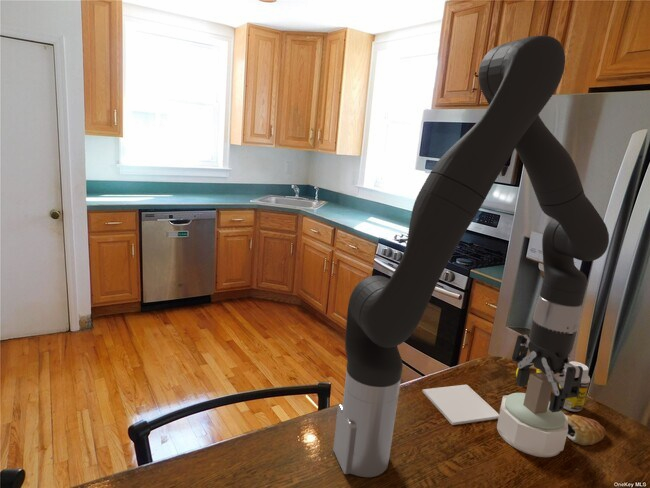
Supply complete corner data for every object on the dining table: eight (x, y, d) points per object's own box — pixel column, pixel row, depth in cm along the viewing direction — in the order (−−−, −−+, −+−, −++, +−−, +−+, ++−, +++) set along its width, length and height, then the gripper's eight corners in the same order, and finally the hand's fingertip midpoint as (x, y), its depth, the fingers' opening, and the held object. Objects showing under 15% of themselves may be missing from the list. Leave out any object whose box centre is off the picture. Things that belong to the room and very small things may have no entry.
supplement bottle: (574, 415, 95) (585, 374, 93) (550, 401, 99) (560, 362, 97) (586, 408, 98) (597, 368, 96) (562, 395, 103) (572, 357, 100)
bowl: (526, 461, 79) (532, 436, 78) (484, 420, 90) (489, 397, 89) (575, 452, 83) (582, 427, 82) (530, 413, 94) (535, 391, 93)
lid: (532, 433, 79) (541, 396, 77) (493, 398, 89) (500, 365, 87) (577, 426, 82) (586, 390, 80) (535, 393, 92) (542, 361, 90)
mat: (452, 425, 88) (452, 422, 88) (422, 391, 99) (422, 389, 99) (500, 418, 92) (500, 415, 91) (466, 386, 103) (466, 384, 102)
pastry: (586, 422, 93) (590, 407, 92) (614, 443, 87) (618, 427, 86) (551, 427, 91) (555, 411, 90) (578, 449, 84) (582, 433, 83)
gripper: (512, 307, 86) (497, 379, 90) (571, 340, 73) (550, 423, 77) (541, 306, 88) (526, 376, 92) (603, 338, 75) (582, 418, 79)
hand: (537, 397), depth 85 cm, fingers open, 8 cm apart
